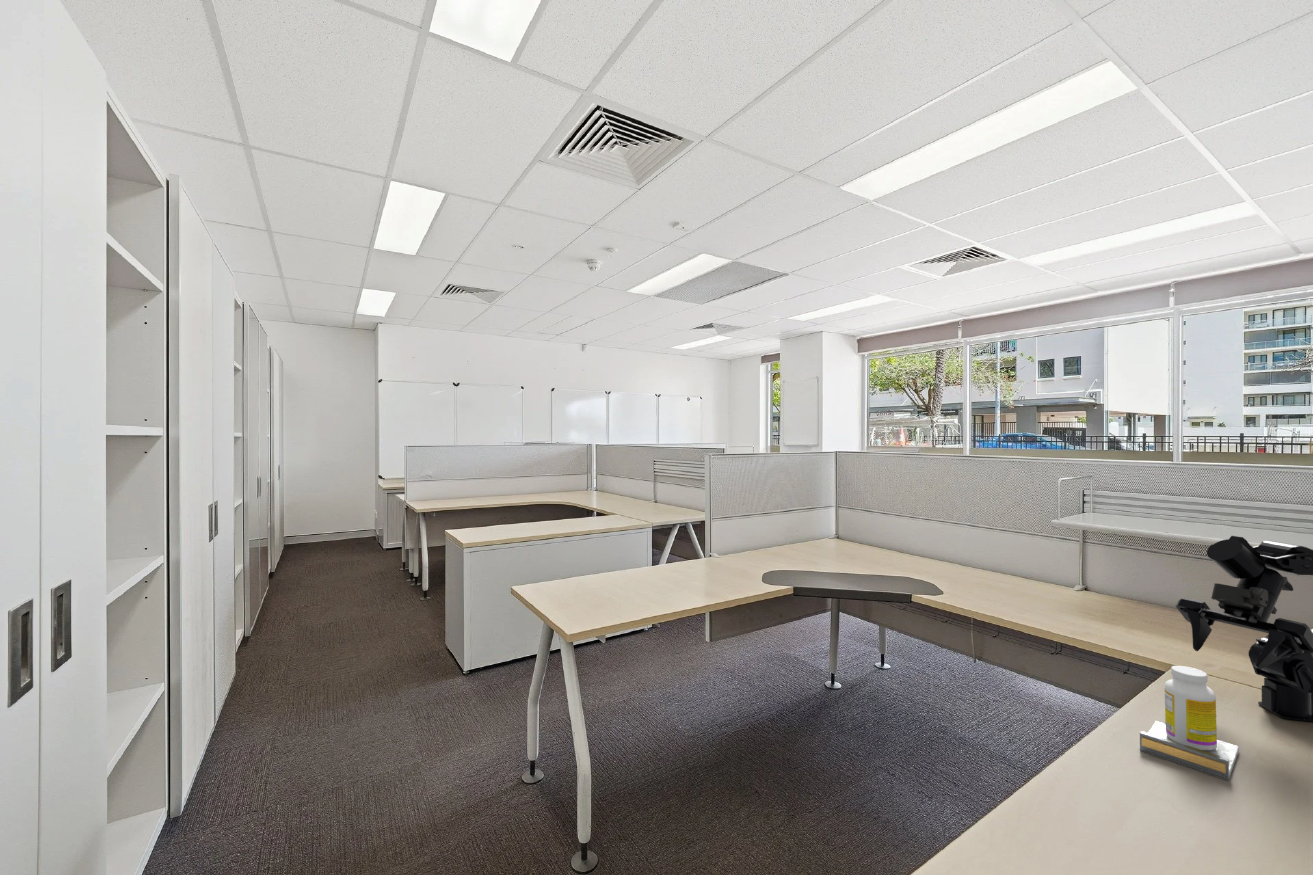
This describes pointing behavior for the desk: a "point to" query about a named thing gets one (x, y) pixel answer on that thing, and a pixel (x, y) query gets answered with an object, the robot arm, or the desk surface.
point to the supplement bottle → (1190, 709)
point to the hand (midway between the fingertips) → (1225, 658)
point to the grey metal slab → (1190, 752)
